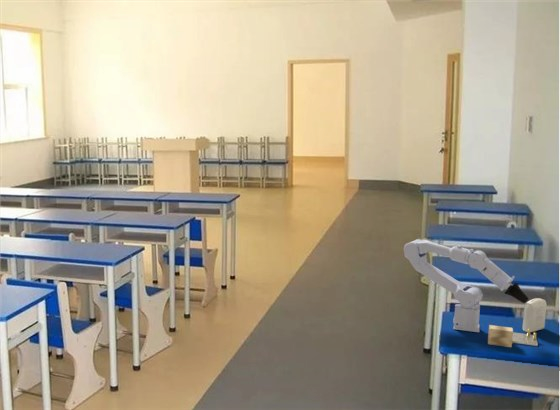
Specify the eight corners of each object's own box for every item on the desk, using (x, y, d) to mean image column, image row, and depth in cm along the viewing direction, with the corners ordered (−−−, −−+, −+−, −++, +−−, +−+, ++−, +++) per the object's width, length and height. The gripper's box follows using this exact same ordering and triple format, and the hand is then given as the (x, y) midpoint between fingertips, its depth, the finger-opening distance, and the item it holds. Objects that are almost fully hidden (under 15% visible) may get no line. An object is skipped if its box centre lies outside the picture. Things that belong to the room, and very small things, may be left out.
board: (488, 344, 214) (489, 328, 213) (487, 340, 217) (489, 324, 216) (511, 347, 211) (513, 331, 210) (510, 343, 215) (512, 327, 214)
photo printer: (536, 325, 234) (539, 295, 232) (545, 328, 230) (549, 298, 228) (520, 330, 228) (523, 299, 226) (530, 333, 224) (533, 302, 222)
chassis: (502, 341, 216) (502, 333, 216) (501, 332, 225) (502, 324, 224) (537, 346, 213) (538, 337, 212) (535, 337, 221) (536, 329, 221)
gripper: (502, 266, 213) (533, 292, 207) (505, 268, 226) (534, 293, 220) (488, 281, 214) (519, 307, 208) (492, 282, 227) (521, 306, 221)
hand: (526, 301), depth 214 cm, fingers open, 7 cm apart
